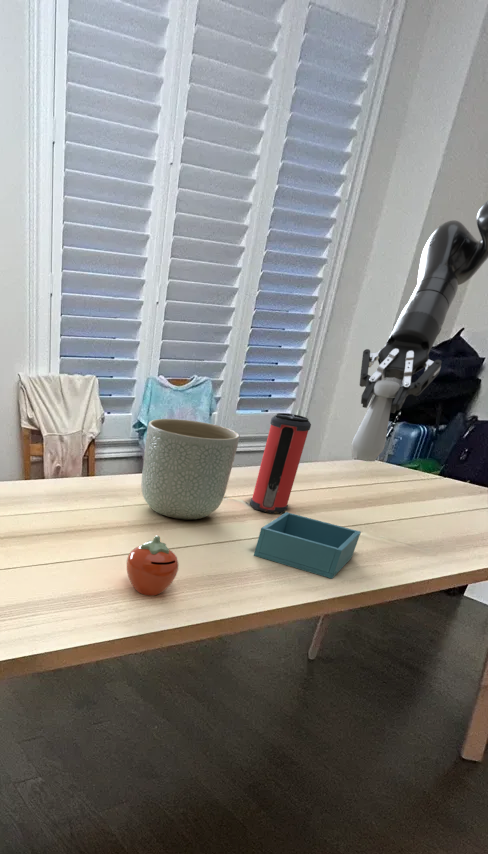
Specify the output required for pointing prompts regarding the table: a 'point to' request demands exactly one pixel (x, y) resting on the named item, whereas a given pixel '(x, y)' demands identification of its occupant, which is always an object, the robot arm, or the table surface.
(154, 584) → the tomato
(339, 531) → the bin
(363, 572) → the table surface
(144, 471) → the planter
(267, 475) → the speaker
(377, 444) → the salt shaker
